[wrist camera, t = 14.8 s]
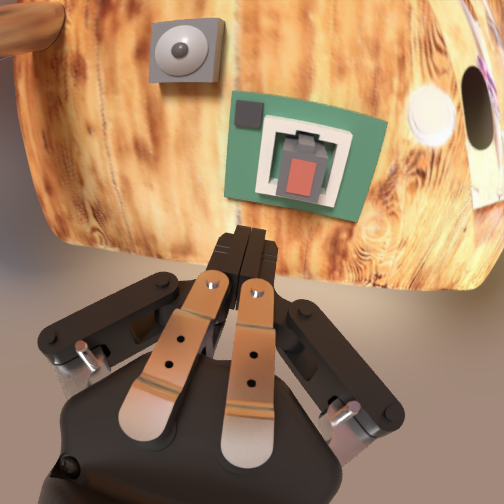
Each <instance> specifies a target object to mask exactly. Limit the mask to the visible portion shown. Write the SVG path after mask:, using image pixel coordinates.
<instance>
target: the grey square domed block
mask: <svg viewBox="0 0 504 504" xmlns="http://www.w3.org/2000/svg"><path fill="white" fill-rule="evenodd" d="M224 25H225V21H223V20H222V19H220V18H200V19H185V20H175V21H166V22H158V23H152V34H151V46H150V63H149V83H162V82H211V83H213V82H219V73H220V62H221V52H222V43H223V34H224Z"/></svg>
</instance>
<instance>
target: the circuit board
mask: <svg viewBox="0 0 504 504" xmlns="http://www.w3.org/2000/svg"><path fill="white" fill-rule="evenodd" d="M387 124H388V122H386V121H385V120H381V119H378V118H375V117H372V116H369V115H365V114H362V113H358V112H355V111H351V110H347V109H343V108H339V107H335V106H331V105H327V104H322V103H317V102H313V101H308V100H302V99H297V98H291V97H285V96H279V95H272V94H264V93H256V92H247V91H236V90H234V91H232V98H231V109H230V121H229V133H228V146H227V159H226V174H225V190H224V197H228V198H234V199H241V200H247V201H252V202H258V203H264V204H269V205H275V206H280V207H286V208H291V209H296V210H301V211H306V212H311V213H316V214H321V215H326V216H330V217H335V218H340V219H344V220H349V221H353V222H358V219H359V216H360V213H361V211H362V208H363V205H364V202H365V199H366V196H367V193H368V190H369V187H370V184H371V180H372V177H373V174H374V171H375V167H376V164H377V161H378V157H379V154H380V150H381V147H382V143H383V139H384V136H385V132H386V128H387ZM299 131H300V132H305V133H310V134H313V137H314V141H317V142H322V143H324V146H325V149H326V153H327V156H328V162H327V166H326V170H325V175H324V179H323V183H322V187H321V191H320V195H319V199H318V203H313V202H308V201H303V200H298V199H292V198H287V197H282V196H276V189H277V182H278V176H279V170H280V164H281V157H282V151H283V146H284V142H285V138H286V136H291V137H297V138H298V135H299Z"/></svg>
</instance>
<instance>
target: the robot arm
mask: <svg viewBox="0 0 504 504" xmlns="http://www.w3.org/2000/svg"><path fill="white" fill-rule="evenodd" d="M64 14H65V12H64V8H63V5H62V4H61V3H59V2H29V3H17V4H9V5H2V6H0V59H3V58H7V57H11V56H15V55H19V54H24V53H28V52H33V51H39V50H44V49H46V48H48V47H49V46H50V45H51V44H52V43H53V42H54V41H55V40H56V38H57V37H58V35H59V33H60V31H61V28H62V25H63V22H64ZM265 234H266V230H263V229H258V228H252V231H251V227H247V226H241V225H237V227H236V230H235V233H234V234H231V233H224V234H223V235H222V236H221V237H219V239H218V241H217V244H216V246H215V249H214V251H213V254H212V256H211V259H210V261H209V263H208V266H207V268H206V271H204V272H203V273H201V274H200V275H199V276H198V277H197V279H194V280H189V281H178V279H177V277H176V276H175V275H174V274H172V273H169V272H158V273H155V274H153V275H151V276H149V277H147V278H145V279H143V280H140V281H138V282H136V283H134V284H132V285H130V286H128V287H126V288H124V289H122V290H120V291H118V292H116V293H114V294H111V295H109V296H107V297H105V298H103V299H101V300H99V301H97V302H95V303H93V304H91V305H89V306H87V307H85V308H83V309H81V310H79V311H77V312H75V313H73V314H71V315H69V316H67V317H65V318H63V319H61V320H59V321H57V322H55V323H53V324H52V325H50V326H48V327H46V328H44V329H43V330H42V331H41V333H40V335H39V337H38V347H39V349H40V350H41V352H42V353H43V354H44V355H45V356H46V357H47V359H48V361H49V362H50V363H51V364H52V365H53V366H54V369H55V372H56V374H57V377H58V380H59V382H60V385H61V387H62V389H63V392H64V394H65V396H66V398H67V402H66V403H65V405H64V407H63V408H62V411H61V415H60V429H61V440H62V441H61V453H60V456H59V459H58V461H57V462H56V464H55V465H54V467H53V468H52V470H51V471H50V473H49V474H48V476H47V477H46V479H45V480H44V483H43V486H42V490H41V493H40V497H39V501H38V504H329V503H330V501H331V500H332V498H333V497H334V496H335V495H336V493H337V492H338V490H339V488H340V485H341V482H342V467H343V466H344V465H345V464H347V463H348V462H349V461H351V460H352V459H353V458H354V457H356V456H357V455H358V454H359V453H360V452H362V451H363V450H364V449H365V448H367V447H368V446H369V445H370V444H371V443H372V442H373V441H375V440H377V439H379V438H381V437H383V436H385V435H387V434H389V433H391V432H393V431H395V430H397V429H399V428H400V427H401V425H402V424H403V422H404V418H405V412H404V408H403V407H402V405H401V404H400V402H399V401H398V400H397V399H396V398H395V396H394V395H393V394H392V393H391V392H390V390H389V389H388V388H387V387H386V386H385V385H384V383H383V382H382V381H381V380H380V379H379V377H378V376H377V375H376V374H375V373H374V371H373V370H372V369H371V368H370V367H369V366H368V364H367V363H366V362H365V361H364V360H363V358H362V357H361V356H360V355H359V354H358V353H357V351H356V350H355V349H354V348H353V347H352V346H351V344H350V343H349V342H348V341H347V340H346V339H345V337H344V336H343V335H342V334H341V333H340V332H339V330H338V329H337V328H336V327H335V326H334V325H333V323H332V322H331V321H330V320H329V319H328V318H327V316H326V315H325V314H324V313H323V312H322V311H321V310H320V308H319V307H318V306H317V305H316V304H314V303H313V302H311V301H309V300H304V299H299V300H296V301H294V302H289V301H287V300H285V299H283V298H282V297H280V296H279V295H278V294H277V293H276V291H275V289H274V277H275V270H276V262H277V253H278V248H277V245H276V243H275V242H274V241H269V240H265ZM236 300H237V302H236ZM235 304H236V310H238V317H237V324H236V331H235V339H234V346H233V353H232V360H214V359H213V356H214V352H215V350H216V347H217V344H218V341H219V339H220V336H221V333H222V330H223V328H224V325H225V322H226V318H227V315H228V311H229V309H233V310H234V308H235ZM156 342H157V344H156V346H155V348H154V350H153V351H151V352H148V353H146V354H143V355H142V356H140V357H138V358H137V359H135V360H133V361H132V362H130V363H128V364H127V365H125V366H123V367H122V368H120V369H118V370H117V371H115V372H113V373H111V374H110V372H111V367H113V366H114V365H116V364H118V363H120V362H122V361H124V360H125V359H127V358H129V357H131V356H133V355H134V354H136V353H138V352H140V351H142V350H143V349H145V348H147V347H149V346H151V345H152V344H154V343H156ZM275 346H276V349H277V351H278V352H279V354H280V356H281V357H282V358H283V360H284V361H285V363H286V364H287V365H288V367H289V368H290V369H291V371H292V372H293V374H294V375H295V376H296V378H297V379H298V380H299V382H300V383H301V385H302V386H303V387H304V389H305V390H306V391H307V393H308V394H309V395H310V397H311V398H312V399H313V401H314V402H315V403H316V405H317V406H318V407H319V409H320V410H321V411H322V412H321V414H320V415H319V419H318V425H319V427H320V429H321V431H322V434H323V437H322V435H321V434H320V433H319V431H318V430H317V428H316V427H315V425H314V424H313V423H312V421H311V420H310V418H309V417H308V415H307V414H306V412H305V411H304V409H303V408H302V406H301V405H300V403H299V402H298V400H297V399H296V397H295V396H294V394H293V393H292V391H291V390H290V388H289V387H288V386H287V385H286V383H285V382H284V381H282V380H281V379H280V378H279V377H277V376H276V375H274V370H275Z"/></svg>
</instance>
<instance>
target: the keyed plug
mask: <svg viewBox="0 0 504 504" xmlns="http://www.w3.org/2000/svg"><path fill="white" fill-rule="evenodd" d="M327 162H328V156H327V153H326V149H325V146H324V143H322V142H317V141H314V137H313V134H310V133H305V132H300V131H299V135H298V138H297V137H291V136H286V138H285V142H284V146H283V151H282V157H281V164H280V170H279V176H278V182H277V189H276V196H282V197H287V198H292V199H298V200H303V201H308V202H313V203H318V199H319V195H320V191H321V187H322V183H323V179H324V175H325V170H326V166H327Z"/></svg>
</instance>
